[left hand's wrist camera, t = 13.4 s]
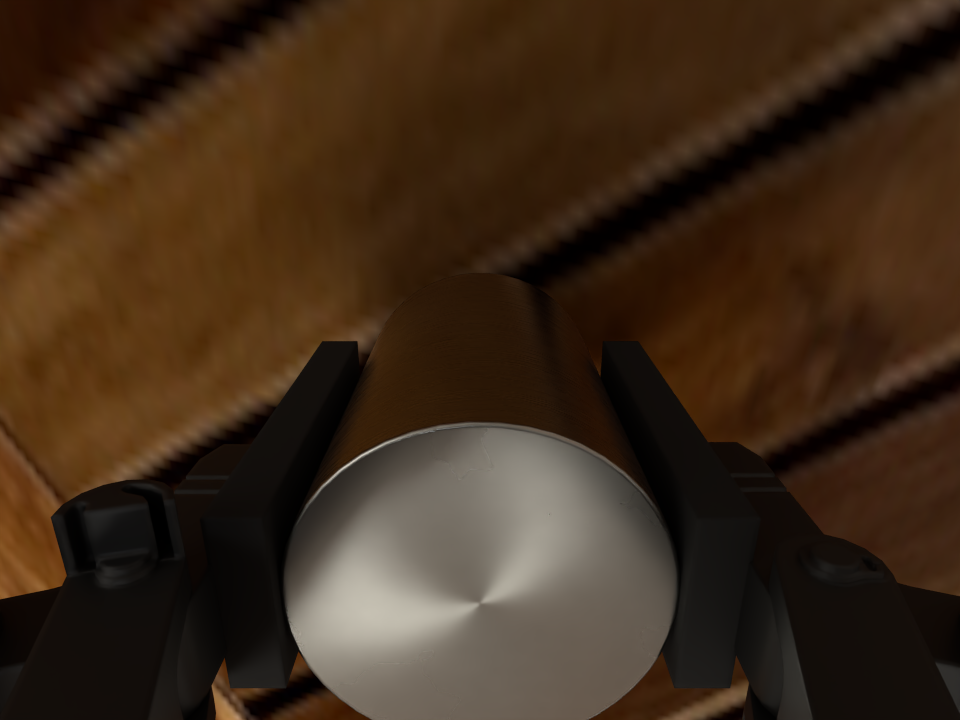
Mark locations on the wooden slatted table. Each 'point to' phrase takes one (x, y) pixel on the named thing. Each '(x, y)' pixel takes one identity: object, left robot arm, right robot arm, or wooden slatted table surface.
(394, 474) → the tin
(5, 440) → the wooden slatted table surface
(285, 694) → the wooden slatted table surface
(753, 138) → the wooden slatted table surface
